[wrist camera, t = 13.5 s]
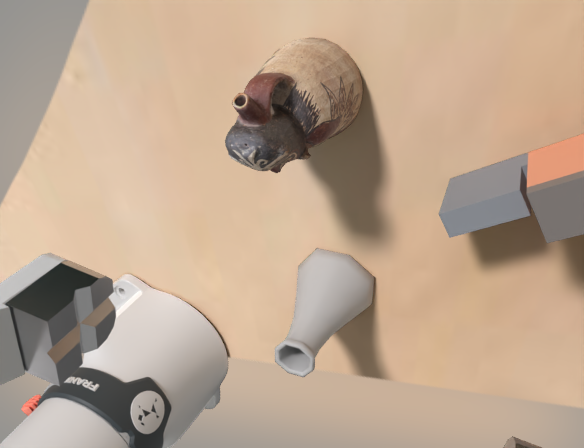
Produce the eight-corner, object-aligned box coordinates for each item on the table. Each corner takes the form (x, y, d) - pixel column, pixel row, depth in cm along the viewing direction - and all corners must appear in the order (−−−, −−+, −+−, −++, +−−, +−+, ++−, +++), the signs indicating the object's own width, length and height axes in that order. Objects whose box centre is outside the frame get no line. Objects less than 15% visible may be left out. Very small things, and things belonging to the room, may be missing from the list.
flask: (288, 291, 49) (240, 365, 41) (311, 234, 45) (262, 304, 37) (358, 328, 48) (322, 411, 40) (389, 272, 44) (355, 353, 36)
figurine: (270, 122, 41) (188, 187, 31) (274, 28, 37) (182, 69, 28) (357, 141, 39) (299, 216, 29) (371, 43, 35) (308, 93, 26)
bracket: (460, 199, 38) (449, 237, 34) (450, 178, 38) (438, 214, 33) (735, 114, 29) (769, 150, 25) (727, 85, 29) (761, 117, 25)
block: (545, 195, 34) (547, 243, 29) (528, 152, 33) (526, 194, 28) (625, 172, 31) (641, 220, 26) (608, 125, 30) (622, 165, 25)
